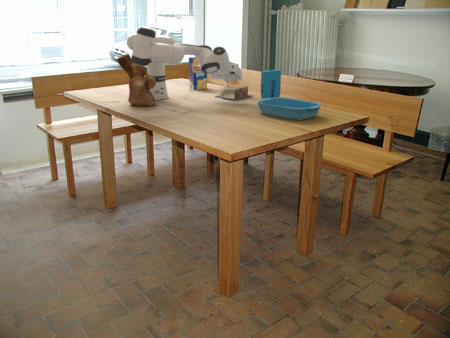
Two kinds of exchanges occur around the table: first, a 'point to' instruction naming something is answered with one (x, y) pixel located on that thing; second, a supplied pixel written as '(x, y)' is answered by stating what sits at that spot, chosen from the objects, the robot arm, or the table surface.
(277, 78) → the block
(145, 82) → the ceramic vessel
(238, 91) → the walnut block
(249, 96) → the felt mat
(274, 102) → the casserole dish
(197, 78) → the cracker box
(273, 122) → the table surface
